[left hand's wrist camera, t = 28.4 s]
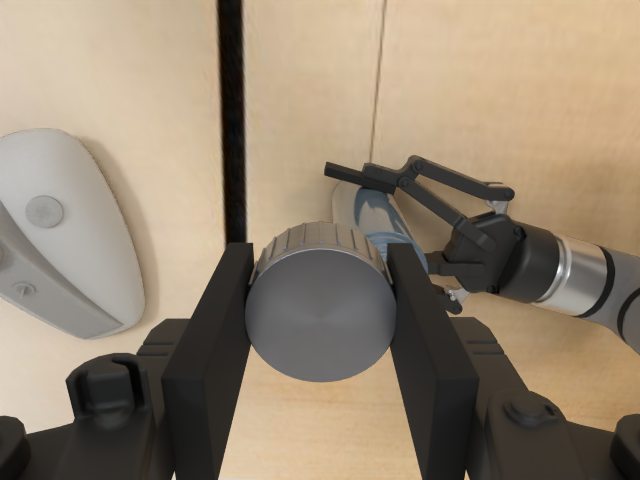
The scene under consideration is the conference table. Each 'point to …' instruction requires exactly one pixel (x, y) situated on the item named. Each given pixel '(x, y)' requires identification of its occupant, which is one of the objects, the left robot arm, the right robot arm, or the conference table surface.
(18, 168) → the projector
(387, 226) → the bottle
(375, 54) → the conference table surface
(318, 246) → the cap
